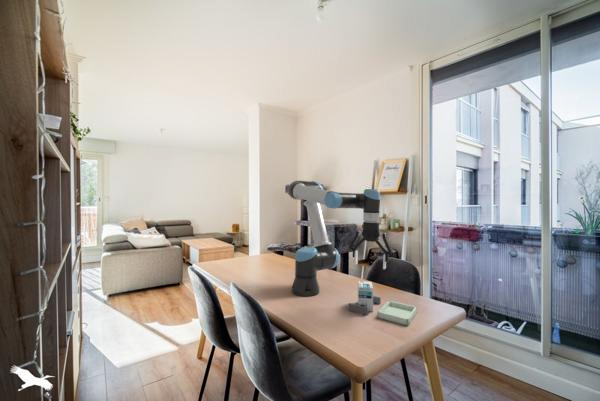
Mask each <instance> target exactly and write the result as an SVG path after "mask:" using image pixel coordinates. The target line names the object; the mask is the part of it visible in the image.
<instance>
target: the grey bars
mask: <svg viewBox="0 0 600 401" xmlns="http://www.w3.org/2000/svg"><path fill="white" fill-rule="evenodd" d="M381 300H382V297H381V296H376V295H373V304H378V305H380V304H381V302H382V301H381ZM381 305H382V304H381ZM348 311H350V312H354V313H358V314H361V315H364V316H365V315H366V316H369V312H370V311H369V308H368V307H364V306H360V305H358V304H356V303H351V302H349V303H348Z"/></svg>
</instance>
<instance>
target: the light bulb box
mask: <svg viewBox="0 0 600 401" xmlns="http://www.w3.org/2000/svg"><path fill="white" fill-rule="evenodd" d="M357 283H358V284H357V290H358V292H357V302H358V303H357V305H360V306H364V307H368V308H369V312H371V313H372V312H374V303H373V296H374V286H373V282H372V281H365V280H358V282H357Z"/></svg>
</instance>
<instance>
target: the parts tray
mask: <svg viewBox="0 0 600 401" xmlns="http://www.w3.org/2000/svg"><path fill="white" fill-rule="evenodd" d="M417 314H418V306H414V305H410V304H406V303H403V302H402V303H401V302H397V301H392V300H388V301H387V302H386V303H385V304H384V305H382V307H381V308H380V309H378V311H377V316H376V318H377V319H381V320H384V321H388V322H392V323H396V324H398V325H399V324H400V325H404V326H407V327H409V326H410V324H411V322H413V319H414V318H415V317H416V315H417Z"/></svg>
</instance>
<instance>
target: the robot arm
mask: <svg viewBox="0 0 600 401" xmlns="http://www.w3.org/2000/svg"><path fill="white" fill-rule="evenodd" d="M380 191H381V190H380V189H376V188H375V189H373V188H368V189H367V188H365V189H364V190H363V193H355V192H354V193H352V192H351V193H350V192H338V191H332V190H326V189H324V187H323V185H322V184H321V183H319V182H317V181H314V180H313V181H310V180H294V181H292V182H291V183H290V184H289V186H288V188H287V193H288V195H289V197H290V198H291V199H293V200H297V201H302V202H303V203H302V204H303V206H305V207H306V210H307V216H308V220H309V221H308V222H309V226H310V229H311V233H312V238H313V243H314V244H313V247H312V246H311V247H310V246H309V247H301V248H299V249H297V250H296V251H295V257H294V259H295V263H294V264H295V268H294V276H295V277H294V279H293V282H292V285H291V293H292V294H293V295H296V296H300V297H312V296H313V297H314V296H317V295H319V294H320V285H319V282H318V279H317V272H318V271H324V270H330V269H333V268H336V267H337V266H338V265H339V264H338V263H339V261H340V254H339V251H338V250H337V248H335V247H333V246H334V245H333V243H332V242H330V241H329V237H328V232H327V228H326V223H325V220H324V219H325V218H324V214H323V211H322V206H326V207H327V208H329V209H360V210H361V209H363V213H362V217H363V218H362V220H363V222H362V231H360V230H356V231H355V235H354V237H353V240H352V241H351V243H350V244H349V247H348V249H349V250H351V251H352V258H354V262H353V264H354V266H356V265H358V261H359V260H358V259H359V258H358V256H359V251H358V249H359V247H360V246H362V244H364V242H365V241H366V242H371V243H372V242H373V243H376V244H377V246H378V247H379V248H380V249H381V251H382V252H383V258H382V259H383V260H382V270H385V269H386V268H387V263H388V262H389V255H392V254H393V253H394V251H393V249H392V247H391V245H390V243H389V241H388V240H389V239H388V237H387V233H386V232H380V214H381V213H380V208H381V206H380V205H381V192H380ZM321 205H322V206H321ZM360 236H362V238H361V239H360V240H359V242H357V241H358V239H359V238H360ZM379 237H380V238H382V241H383V243H384V244H383V243H382V242H381V240H380V239H379ZM356 242H357V244H356Z"/></svg>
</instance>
